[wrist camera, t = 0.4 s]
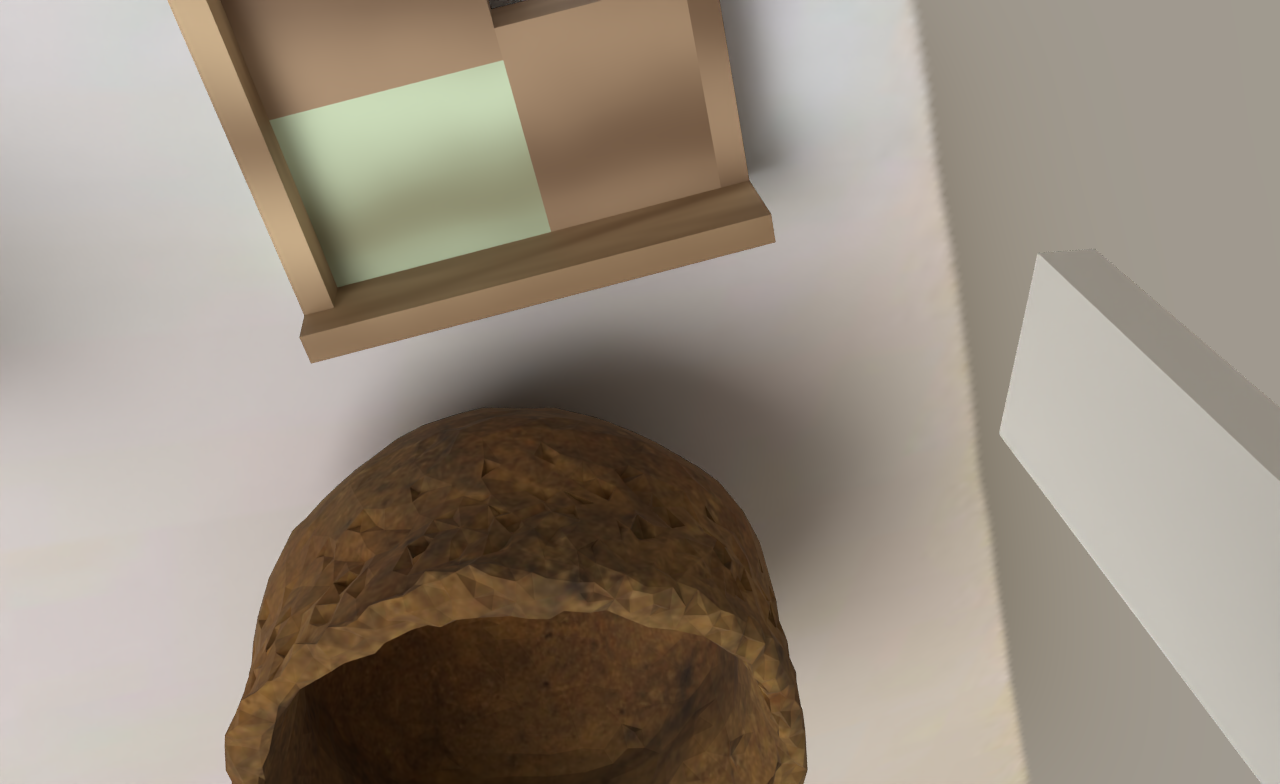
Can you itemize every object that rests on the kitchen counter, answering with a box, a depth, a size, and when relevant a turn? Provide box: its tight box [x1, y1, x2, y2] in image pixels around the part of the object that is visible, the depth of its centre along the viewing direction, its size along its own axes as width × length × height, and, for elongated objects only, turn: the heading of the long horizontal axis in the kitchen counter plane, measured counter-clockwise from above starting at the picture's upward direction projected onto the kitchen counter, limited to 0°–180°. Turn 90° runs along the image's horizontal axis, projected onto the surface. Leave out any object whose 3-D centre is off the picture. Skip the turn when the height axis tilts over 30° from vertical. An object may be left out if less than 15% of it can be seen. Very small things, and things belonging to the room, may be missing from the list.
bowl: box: [225, 408, 807, 784], centre depth 41 cm, size 19×19×15 cm
